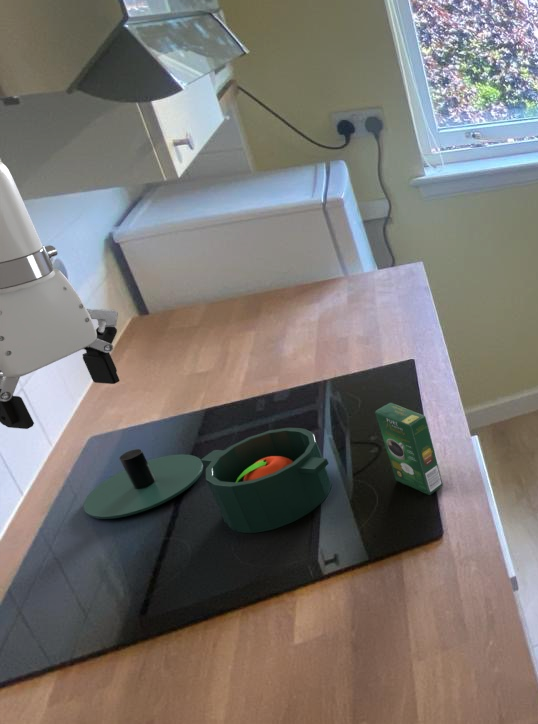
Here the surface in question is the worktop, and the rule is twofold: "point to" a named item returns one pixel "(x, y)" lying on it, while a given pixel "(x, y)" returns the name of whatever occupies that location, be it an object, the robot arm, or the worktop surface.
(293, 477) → the pot
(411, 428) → the coffee box
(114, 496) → the lid
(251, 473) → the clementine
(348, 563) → the worktop surface
